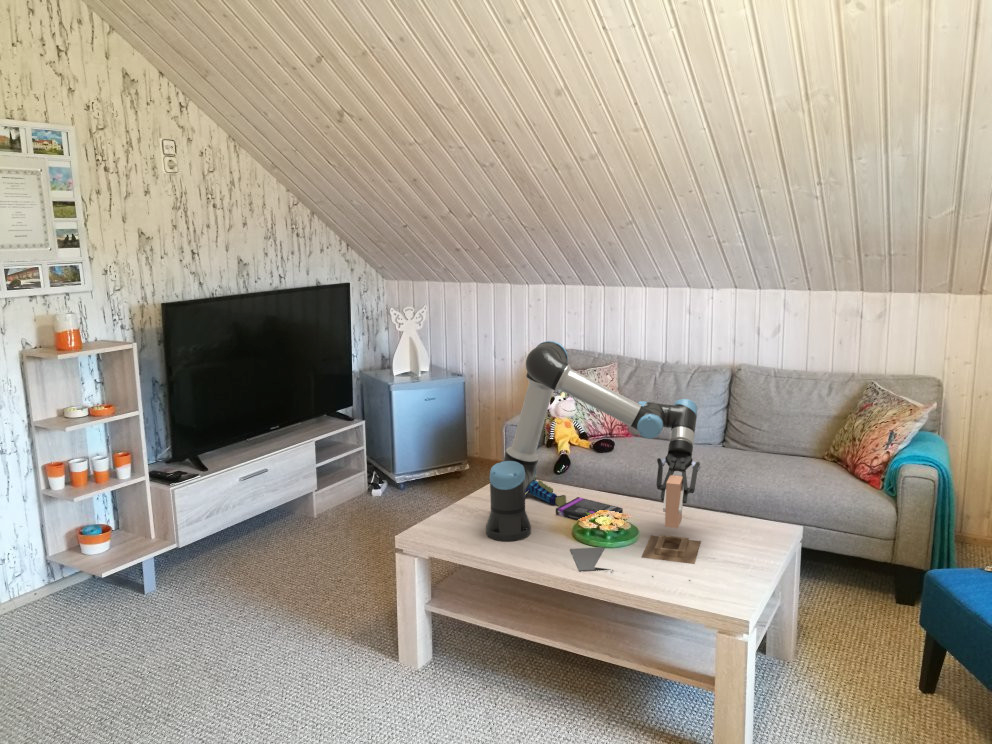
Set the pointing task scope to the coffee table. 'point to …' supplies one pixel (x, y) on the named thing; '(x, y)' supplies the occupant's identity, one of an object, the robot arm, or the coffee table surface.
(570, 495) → the coffee table surface
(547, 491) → the toy
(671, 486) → the brown rectangular block
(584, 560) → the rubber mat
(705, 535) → the coffee table surface
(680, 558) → the slot holder
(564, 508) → the box
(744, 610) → the coffee table surface
